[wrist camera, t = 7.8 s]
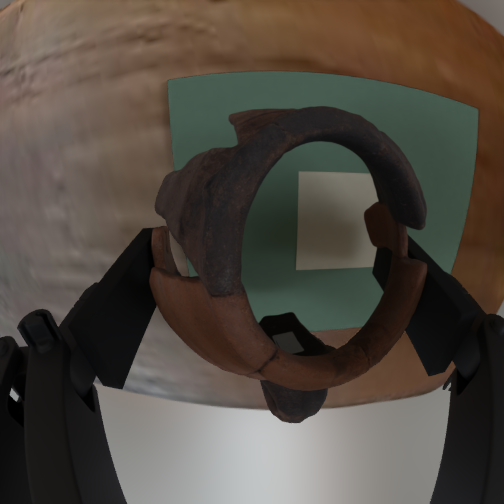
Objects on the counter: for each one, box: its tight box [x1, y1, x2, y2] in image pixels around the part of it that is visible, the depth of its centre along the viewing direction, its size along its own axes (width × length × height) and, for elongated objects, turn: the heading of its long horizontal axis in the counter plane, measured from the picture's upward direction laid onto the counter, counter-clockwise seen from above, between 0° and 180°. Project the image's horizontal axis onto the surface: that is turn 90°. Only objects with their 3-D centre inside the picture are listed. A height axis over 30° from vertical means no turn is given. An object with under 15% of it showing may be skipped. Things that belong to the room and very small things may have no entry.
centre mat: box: [168, 71, 478, 331], centre depth 13 cm, size 16×14×1 cm
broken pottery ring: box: [149, 106, 427, 423], centre depth 10 cm, size 12×10×8 cm
